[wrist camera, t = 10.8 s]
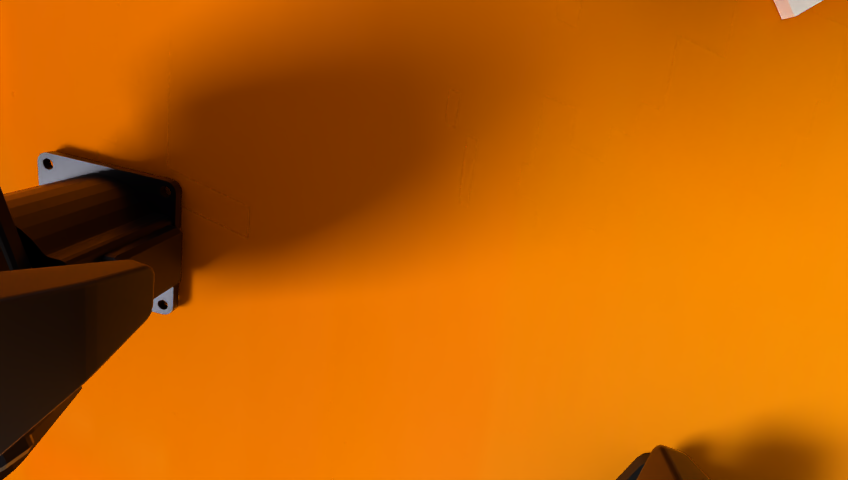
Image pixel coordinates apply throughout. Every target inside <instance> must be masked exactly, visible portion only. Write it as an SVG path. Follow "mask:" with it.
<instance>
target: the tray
mask: <svg viewBox="0 0 848 480" xmlns="http://www.w3.org/2000/svg"><path fill="white" fill-rule="evenodd" d="M821 1H823V0H774V3H775V5H776V7H777V9H778V12H779V14H780V16H781V18H782V19H785V18H791V17H795V16H797V15H799V14H800V13H802V12H804V11H806V10H807V9H809V8H811V7H812V6H814V5H816V4H818V3H819V2H821Z"/></svg>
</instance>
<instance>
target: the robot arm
mask: <svg viewBox="0 0 848 480" xmlns="http://www.w3.org/2000/svg"><path fill="white" fill-rule="evenodd" d="M50 160H51V161H52V162H53V166H52V165H51V162H50ZM38 176H39V186H36V187H32V188H28V189H23V190H19V191H15V192H11V193H7V194H3V193H2V190H1V187H0V480H3V479H4V478H5V477H6V476H7V475H9V474H10V473H11V472H12V471H14V470H15V469H16V468H17V467H18V466H19V465H20V464H21V463H22V461H23V460H24V459H25V458H26V457H27V456H28V454H29V453H30V452H31V451H32V449H33V448H34V447H35V446H36V445H37V443H38V442H39V441H40V440H41V438H42V437H43V436H44V435H45V433H46V432H47V431H48V430H49V429H50V427H51V426H52V425H53V424H54V422H55V421H56V420H57V419H58V417H59V416H60V415H61V414H62V413H63V411H64V410H65V409H66V408H67V406H68V405H69V404H70V403H71V401H72V400H73V399H74V398H75V397H76V395H77V394H78V393H79V392H80V390H81V389H82V385H83V384H84V383H85V382H86V381H87V380H88V379H89V378H90V377H91V376H92V375H93V374H94V373H95V372H96V371H97V370H98V369H99V368H100V367H101V366H102V365H103V364H104V363H105V362H106V361H107V360H108V359H109V358H110V357H111V356H112V355H113V354H114V353H115V352H116V351H117V350H118V349H119V348H120V347H121V346H122V345H123V344H124V343H125V342H126V341H127V339H128V338H129V337H130V336H131V335H132V334H133V333H134V332H135V331H136V330H137V329H138V328H139V327H140V326H141V325H142V324H143V323H144V322H145V321H146V320H147V319H148V317H149V316H150V314H151V312H156V313H160V314H169V313H171V312H172V311H173V310H175V309H176V308H177V305H178V288H179V282H180V281H181V260H182V231H181V229H180V228H181V198H182V191H181V187H180V185H179V184H178V183H177V182H176V181H175V180H173V179H170V178H165V177H161V176H157V175H153V174H148V173H144V172H140V171H136V170H131V169H127V168H123V167H119V166H114V165H110V164H106V163H102V162H97V161H93V160H89V159H85V158H80V157H76V156H72V155H68V154H63V153H59V152H54V151H51V152H45V153H42V154H40V155H39V157H38ZM166 187H168V188H169V189H170V192H171V195H169V194H168V193H167V192H166V189H165V188H166ZM163 300H164V301H166V302H167V304H168V306H167V305H165V303H164V302H163ZM637 480H710V479H709V478H708V477H707V476H706V474H705V473H704V472H703V471H702V470H701V469H700V468H699V467H698V466H697V465H696V464H695V463H694V462H693V461H692V460H691V459H690V457H689V456H688V455H687V454H685V453H683V452H681V451H678V450H675V449H672V448H669V447H667V446H664V445H658V446H656V447H655V448H654V449H653V450H652V452H651V454H650V456H649V457H648V459H647V461H646V463H645V465H644V467H643V469H642V470H641V472H640V474H639V476H638V478H637Z"/></svg>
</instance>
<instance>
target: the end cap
mask: <svg viewBox="0 0 848 480" xmlns="http://www.w3.org/2000/svg"><path fill="white" fill-rule="evenodd" d="M650 454H651V453H647V454H642V455H640V456H639V457H637V458H636V459H635V460H634V461H633V462H632V463H631V464H630V465H629V467H628V468H627V469H626V470H625V471H624V472H623V473H622V474H621V475H620V476H619V477H618V478H617V479H616V480H637V478H638V476H639V474H640V472H641V470H642V469H643V467H644V465H645V463H646V461H647V459H648V457H649V456H650Z"/></svg>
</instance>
